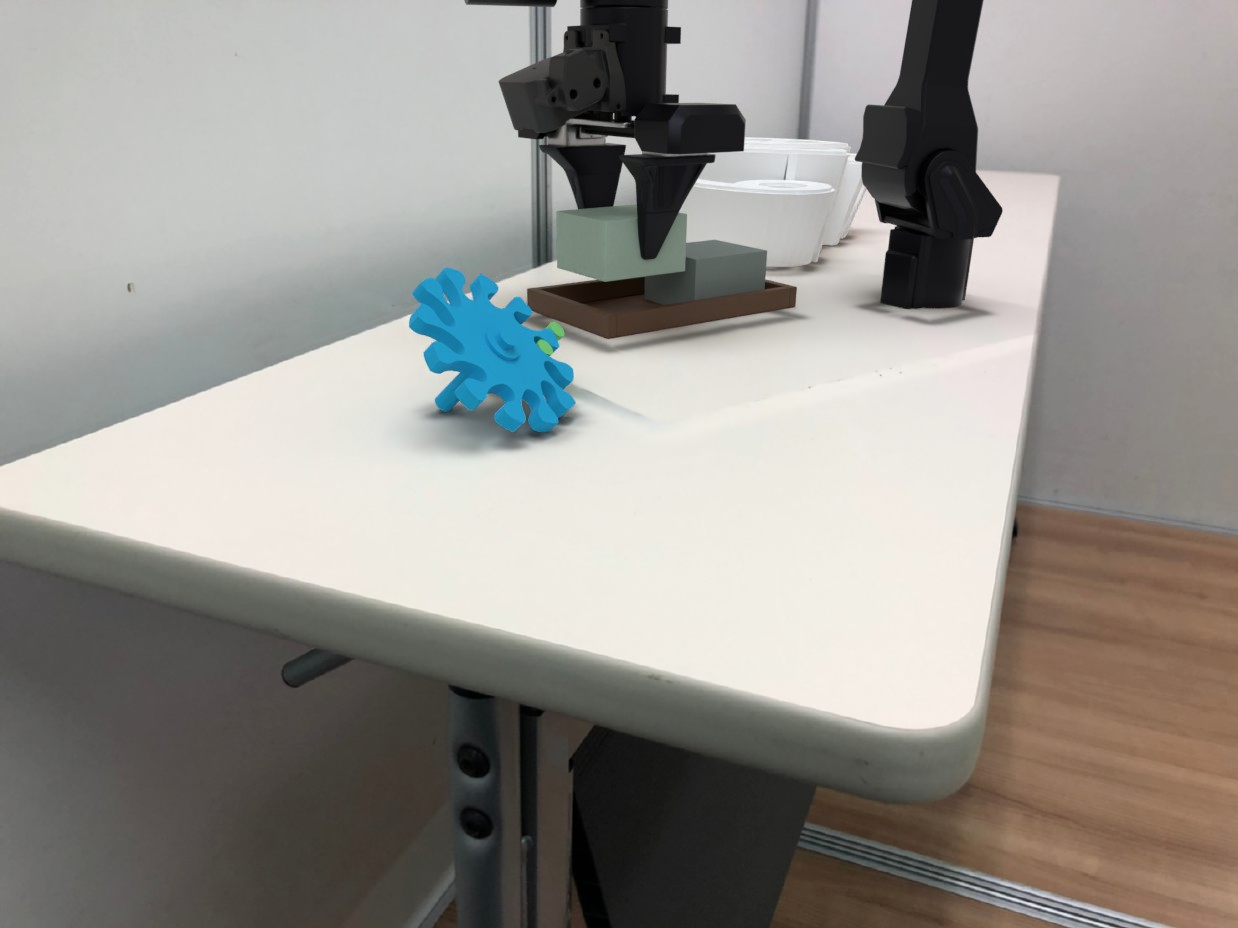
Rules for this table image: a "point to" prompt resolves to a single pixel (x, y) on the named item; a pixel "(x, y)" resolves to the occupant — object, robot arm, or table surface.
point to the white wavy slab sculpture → (777, 198)
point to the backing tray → (646, 306)
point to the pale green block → (614, 244)
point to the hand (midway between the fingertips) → (621, 252)
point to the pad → (710, 273)
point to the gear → (491, 352)
